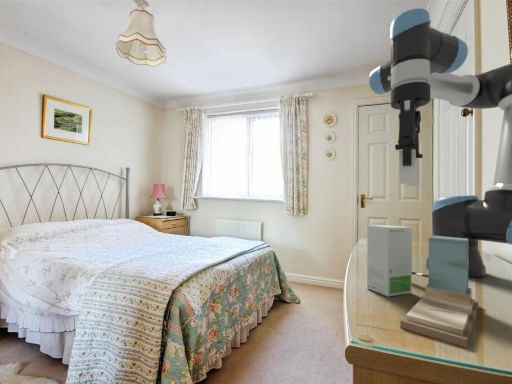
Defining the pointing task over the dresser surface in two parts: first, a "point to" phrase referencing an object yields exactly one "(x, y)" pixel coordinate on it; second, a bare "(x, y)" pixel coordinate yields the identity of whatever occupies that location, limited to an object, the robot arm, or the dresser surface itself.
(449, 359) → the dresser surface
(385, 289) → the skincare box
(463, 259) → the block
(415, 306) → the board
